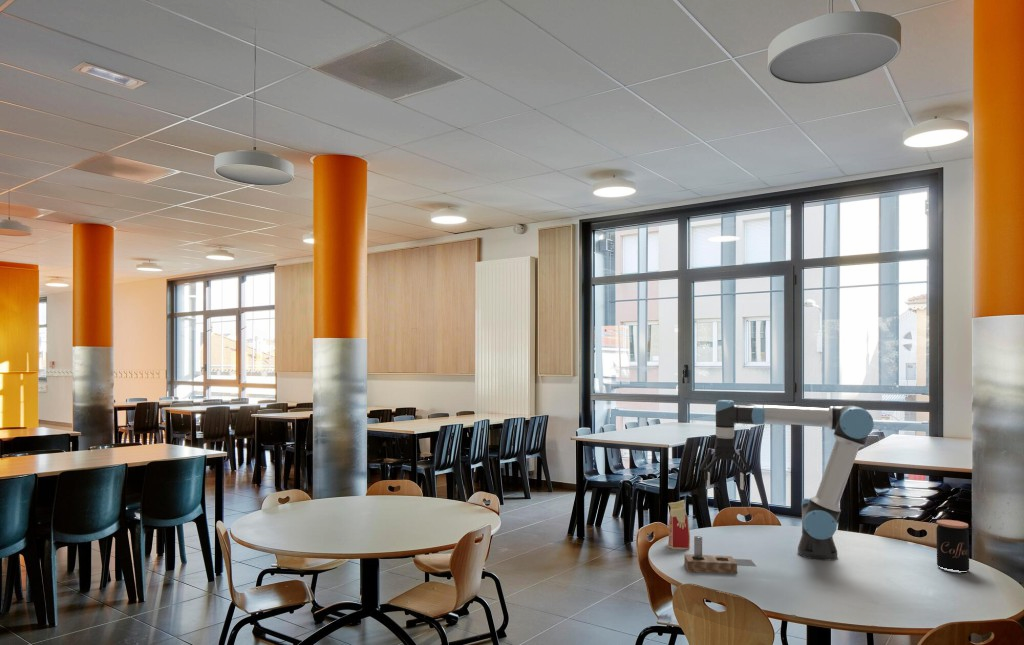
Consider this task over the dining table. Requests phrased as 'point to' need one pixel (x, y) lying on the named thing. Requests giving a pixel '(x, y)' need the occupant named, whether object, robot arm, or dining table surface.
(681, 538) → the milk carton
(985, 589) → the dining table surface
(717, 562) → the hole block
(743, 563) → the mat
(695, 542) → the peg
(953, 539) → the coffee jar
